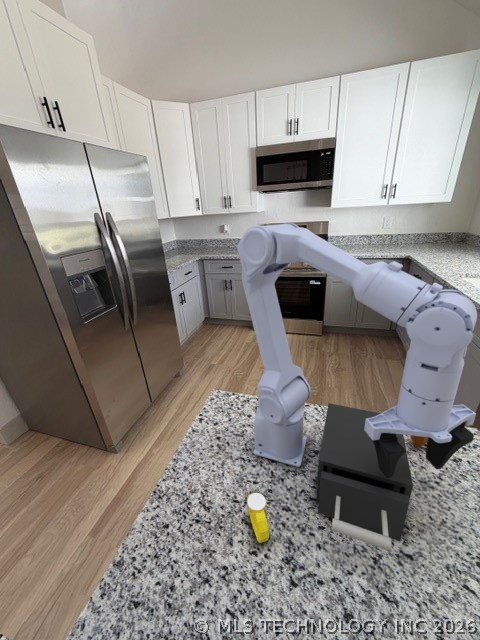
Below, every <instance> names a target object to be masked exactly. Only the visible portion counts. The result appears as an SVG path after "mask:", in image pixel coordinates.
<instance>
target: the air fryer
mask: <svg viewBox="0 0 480 640" xmlns="http://www.w3.org/2000/svg"><path fill="white" fill-rule="evenodd" d="M381 413H382V412H375V411H371V410H367V409H361V408H356V407H351V406H345V405H341V404H340V405H339V404H335V403H330V402H328V403H327V410H326V413H325V421H324V426H323V433H322V438H321V444H320V450H319V456H318V465H317V466H318V467H317V468H318V469H317V479H316V493H315V495H316V496H315V497H316V498H315V504H317V505H319V493H320V479H321V472H322V471H324V472H327V466H329V467H333V468H336V469H340V470H343V471H347V472H351V473H354V474H358V475H361V476H365V477H368V478H372V479H376V480H379V481H383V482H386V483H390V484H394V485H397V486H401V488H400V493H401V494H404V495H408V498H409V502H411V501H410V500H411V497H412V492H413V489H414V482H413V478H412V473H411V467H410V462H409V457H408V452H405V453H404V454H403V455H402V456H401V457H400V459H399V460H398V462H397V465H396V468H395V472H394V474H393V476H392V477H391V478H386V477H385V475H384V474H383V473H382V471H381V470H380V468H379V467H378V459H377V454H376V449H375V446H374V443H373V440H372V439H371V438H370V437H369V435H368V434H367V433H366V431H365V430H364V428H365V421H366V419H367V418H372V417H375V416H377V415H379V414H381ZM396 437H398V442H399V443H400V444H401V446H402V447H403V448H404V449H405V450H406V451H407V445H406V441H405V435H402V434H396Z"/></svg>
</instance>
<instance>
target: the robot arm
mask: <svg viewBox="0 0 480 640" xmlns="http://www.w3.org/2000/svg"><path fill="white" fill-rule="evenodd" d="M236 248H237V253H238V257H239V261H240V264H241V265H240V266H241V282H242V286H243V290H244V294H245V299H246V302H247V307H248V311H249V314H250V315H249V316H250V318H251V322H252V327H253V331H254V334H255V338H256V339H255V340H256V342H257V346H258V350H259V353H260V358H261V362H262V366H263V373H262V374H261V377H260V379H259V381H258V383H257V390H258V399H257V405H258V408H257V410H256V412H255V416H254V422H253V434H254V435H253V436H254V449H253V454H254V455H255V456H259V457H263V458H266V459H269V460H273V461H276V462H279V463H282V464H286V465H288V466H289V465H290V466H293V467H296V468H300V467H301V466H302V462H303V457H304V454H305V450H306V449H305V448H306V445H307V440H308V437H307V436H306V435H304V416H305V415H304V413H305V410H304V408H305V402H307V401H308V400H309V399H310V398H311V395H312V389H311V385H310V384H309V381H308V380H307V379H306V377H305V375H304V372H303V368H301V367H300V366H298V365H296V364H294V363H293V359H292V354H291V349H290V345H289V340H288V337H287V332H286V328H285V324H284V320H283V315H282V311H281V307H280V303H279V299H278V298H279V297H278V293H277V290H276V285H275V283H276V281H277V280H278V278H279V277H280V275H281V274H282V272H283V271H284V269H285V268H286V267H288V266H289V265H291V264H292V263H294V264H295V263H304V264H306V265H308V266H310V267H312V268H314V269H316V270H318V271H320V272H322V273H324V274H326V275H328V276H330V277H332V278H334V279H336V280H338V281H340V282H342V283H344V284H346V285H348V286H350V287H351V288H352V292H353V294H354V295H353V296H354V298H355V300H356V301H357V302H359V303H361V304H362V305H364V306H366V307H368V308H370V309H371V310H373V311H375V312H377V314H380V315H381V316H382V317H385V318H387V319H388V320H389V321H391V322H393V323H394V324H397V325H398V326H400V327H401V328H402V327H403V328H405V329H406V333H407V336H408V338H409V339H410V343H409V348H408V349H407V351H406V357H405V362H404V368H403V372H402V377H401V382H400V389H399V394H398V398H397V404H396V405H394V406H392V407H390V408H388V409H387V410H385V411H382V412H380V413H381V414H379V415H377V416H375V417H372V418H367V419H366V421H365V428H364V430H365V431H366V433H367V434H368V435H369V437H370V438H371V439H372V440H373V443H374V446H375V449H376V454H377V459H378V467H379V468H380V470H381V471H382V473H383V474H384V475H385V477H386V478H391V477H392V476H393V474H394V472H395V468H396V465H397V462H398V460H399V459H400V457H401V456H402V455H403V454H404V453H405V452H407V449H406V450H405V449H404V448H403V447H402V446H401V444H400V443H399V442H398V437H396V434H402V435H404V436H410V435H412V436H421V437H428V442H427V443H426V448H425V459H426V460H427V461H428V462H429V463H430V464H431V465H432V466H433V467H434V468H435V469H436V470H441V469H442V468H443V467H444V466H445V465H446V464H447V462H448V461H449V460H450V459H451V458H452V456H454V454H455V453H457V452H458V451H459V450H460V449H462V448H463V447H465V446H466V445H468V444H470V443H472V442H473V440H474V438H475V434H474V433H473V432H472V431H471V430H470V429H468V428H467V427H468V426H473V425H474V422H475V420H476V416H477V413H476V412H475V411H473V410H472V409H470V408H469V407H467V405H465V404H454V402H455V399H456V396H457V393H458V389H459V384H460V381H461V378H462V374H463V370H464V366H465V359H464V358H465V357H466V356H467V351H468V346H469V345H470V343H471V342H472V341H473V339H474V334H473V332H474V329H475V326H476V323H477V320H478V312H477V308H476V306H475V304H474V302H473V301H472V300H471V299H470V298H469V297H467V296H466V295H464V294H463V293H462V292H461V291H460V290H456V289H443V288H444V286H443V285H441V284H439V283H437V282H433V284H432V285H431V284H429V283H428V282H425V281H423V280H422V279H419V278H417V277H415V276H414V275H411V274H410V273H408V272H405V271H403V270H402V269H403V268H404V265H403V264H401V263H399V262H398V261H394V260H393V261H391V262H389V263H387V262H385V261H383V260H382V261H377V262H374V263H371V264H366V263H365V262H363V261H362V260H360V259H358V258H356V257H354V256H353V255H351V254H349V253H348V252H346V251H345V250H343V249H342V248H341V249H340V248H339V247H338V246H335V245H334V244H333V243H330V242H329V241H327V240H326V239H324V238H322V237H320V236H319V235H317V234H315V233H313V232H312V231H311V230H309V229H308V228H305V227H303V226H300V227H299V226H298V224H295V223H294V222H285V223H281V224H268V225H259V224H256V225H251V226H250V227H248V228H247V229H246V230H245V232H244V233H243V235H242V237H241V238H240V241H239V243H238V245H237V247H236ZM465 426H467V427H465ZM407 453H408V452H407Z"/></svg>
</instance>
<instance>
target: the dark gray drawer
mask: <svg viewBox="0 0 480 640" xmlns="http://www.w3.org/2000/svg"><path fill="white" fill-rule="evenodd" d="M400 488H401V486H397V485H394V484H390V483H386V482H383V481H379V480H376V479H372V478H368V477H365V476H361V475H358V474H354V473H351V472H347V471H343V470H340V469H336V468H333V467H329V466H327V472H324V471H322V472H321V479H320V493H319V504H318V508H317V514H319V515H320V516H321V515H322V516H325V517H327V518H330V519H332V523H331V531H333V532H335V533H339V534H340V535H344V536H346V537H349V538H352V539H355V540H357V541H360V542H363V543H366V544H369V545H371V546H374V547H377V548H380V549H383V550H385V551H388V552H392V540H394V541H397V542H401V541H402V536H403V532H404V528H405V524H406V520H407V516H408V511H409V507H410V501H409V498H408V495H404V494H401V493H400Z"/></svg>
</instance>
